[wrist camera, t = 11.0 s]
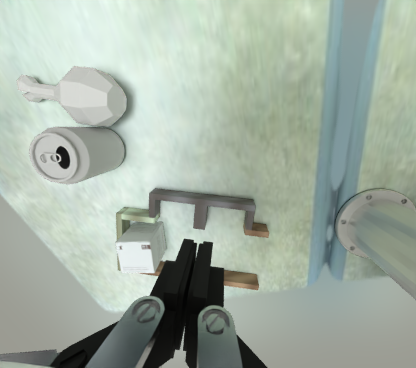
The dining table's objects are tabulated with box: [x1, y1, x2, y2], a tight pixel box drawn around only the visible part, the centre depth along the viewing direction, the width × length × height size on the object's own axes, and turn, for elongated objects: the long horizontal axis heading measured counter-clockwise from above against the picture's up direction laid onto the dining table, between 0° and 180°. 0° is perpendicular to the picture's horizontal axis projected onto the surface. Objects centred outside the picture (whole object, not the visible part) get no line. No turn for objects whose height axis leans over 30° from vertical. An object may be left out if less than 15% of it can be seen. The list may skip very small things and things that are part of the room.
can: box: [29, 127, 125, 184], centre depth 31 cm, size 8×8×12 cm
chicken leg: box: [17, 66, 127, 127], centre depth 32 cm, size 8×18×8 cm, turn 82°
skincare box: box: [115, 222, 166, 273], centre depth 37 cm, size 6×6×7 cm
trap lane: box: [116, 188, 269, 290], centre depth 38 cm, size 27×16×3 cm, turn 85°
